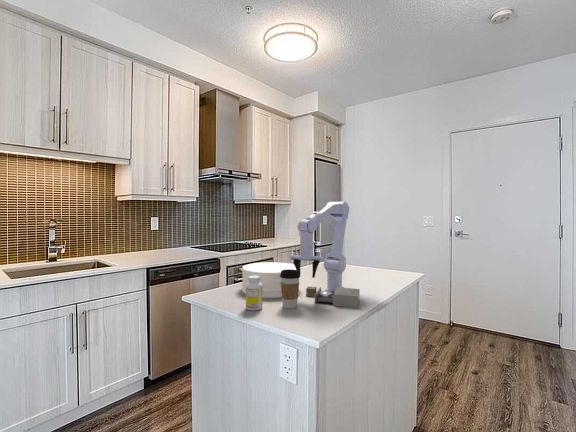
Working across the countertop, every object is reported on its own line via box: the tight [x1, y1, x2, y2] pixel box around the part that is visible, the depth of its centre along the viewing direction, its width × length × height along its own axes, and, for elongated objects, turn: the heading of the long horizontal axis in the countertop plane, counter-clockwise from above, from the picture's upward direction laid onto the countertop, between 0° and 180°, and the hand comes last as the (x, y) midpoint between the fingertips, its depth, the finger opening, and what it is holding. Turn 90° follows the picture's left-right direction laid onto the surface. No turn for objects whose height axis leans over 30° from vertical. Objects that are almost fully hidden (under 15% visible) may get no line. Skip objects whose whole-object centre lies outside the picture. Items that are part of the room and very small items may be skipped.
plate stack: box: [241, 261, 300, 299], centre depth 155 cm, size 28×28×12 cm
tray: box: [313, 287, 334, 304], centre depth 137 cm, size 12×10×4 cm
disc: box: [319, 290, 333, 299], centre depth 137 cm, size 6×6×2 cm
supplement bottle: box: [245, 276, 263, 312], centre depth 126 cm, size 7×7×13 cm
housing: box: [332, 287, 361, 309], centre depth 134 cm, size 12×10×5 cm
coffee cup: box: [280, 269, 301, 309], centre depth 129 cm, size 8×8×15 cm
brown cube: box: [305, 286, 317, 298], centre depth 145 cm, size 4×4×4 cm
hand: (306, 276), depth 139 cm, fingers open, 6 cm apart
